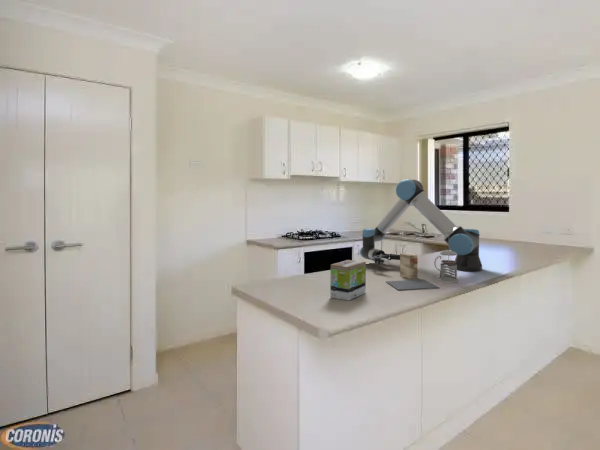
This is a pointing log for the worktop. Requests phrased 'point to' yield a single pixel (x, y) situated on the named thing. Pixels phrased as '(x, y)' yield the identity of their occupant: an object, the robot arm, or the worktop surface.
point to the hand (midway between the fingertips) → (398, 261)
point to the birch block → (408, 265)
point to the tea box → (348, 279)
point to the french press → (450, 265)
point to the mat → (412, 284)
